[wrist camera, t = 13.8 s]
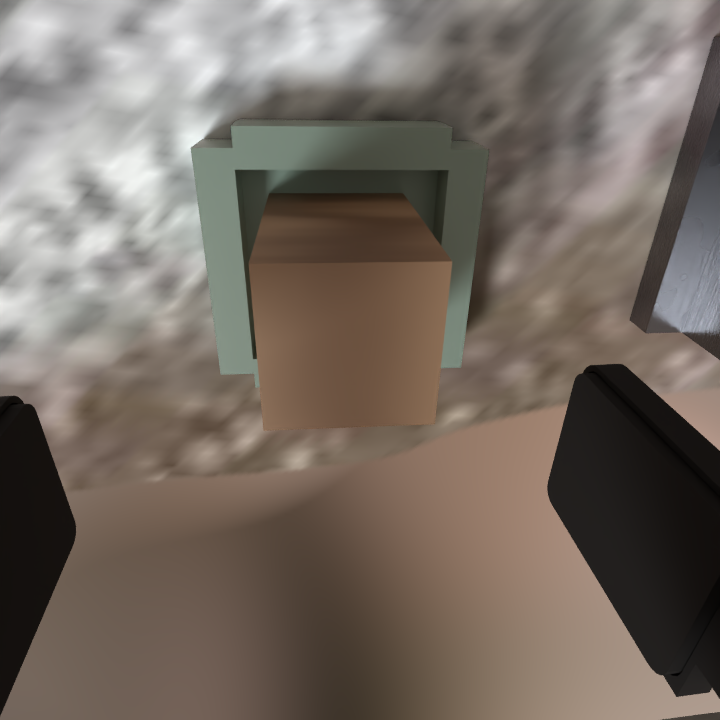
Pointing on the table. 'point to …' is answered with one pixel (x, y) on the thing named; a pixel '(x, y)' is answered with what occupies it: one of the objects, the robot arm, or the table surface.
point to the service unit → (689, 231)
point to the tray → (331, 175)
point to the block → (347, 311)
